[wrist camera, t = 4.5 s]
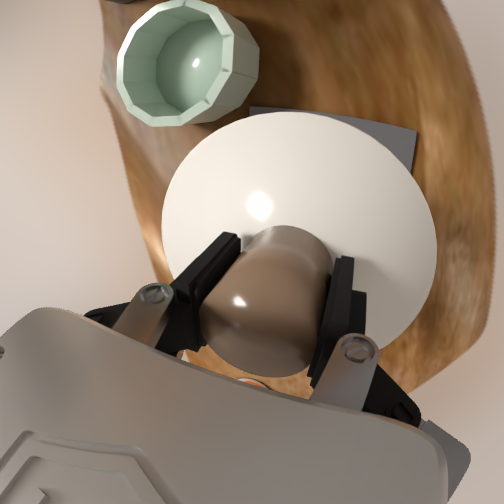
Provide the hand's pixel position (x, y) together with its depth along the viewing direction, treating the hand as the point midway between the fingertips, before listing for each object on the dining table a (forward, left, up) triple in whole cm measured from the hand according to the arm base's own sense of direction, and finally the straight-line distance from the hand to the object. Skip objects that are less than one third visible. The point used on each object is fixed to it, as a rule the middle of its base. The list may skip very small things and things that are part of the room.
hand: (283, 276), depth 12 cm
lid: (0, 0, -2) cm, 2 cm away
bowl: (-11, -12, -14) cm, 21 cm away
